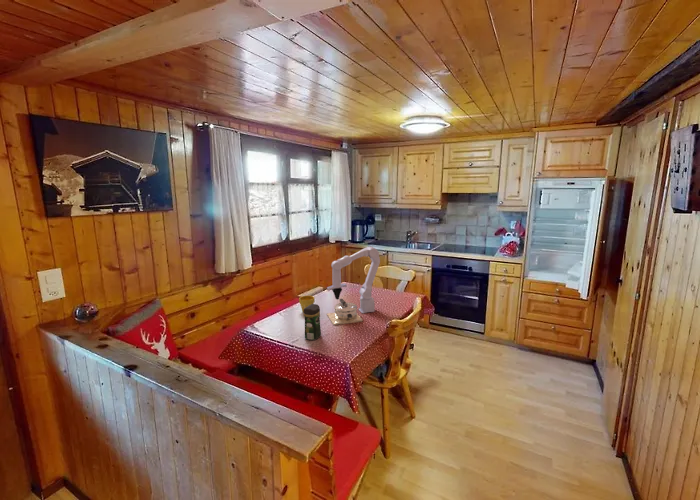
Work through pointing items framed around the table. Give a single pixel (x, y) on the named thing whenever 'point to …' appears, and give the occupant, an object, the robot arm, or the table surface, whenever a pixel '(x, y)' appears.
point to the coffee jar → (312, 322)
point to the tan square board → (344, 317)
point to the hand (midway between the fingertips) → (337, 298)
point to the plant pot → (306, 301)
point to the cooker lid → (345, 306)
